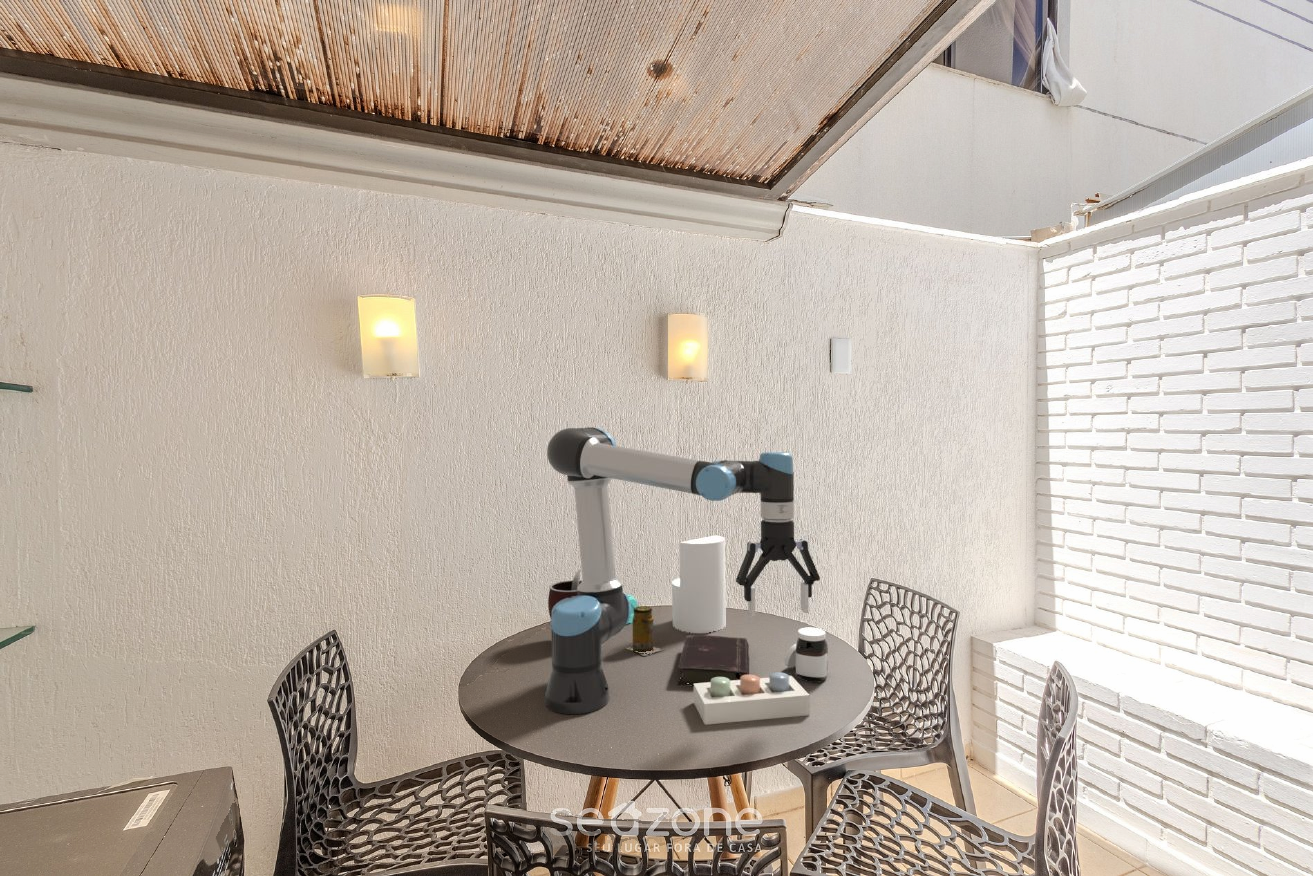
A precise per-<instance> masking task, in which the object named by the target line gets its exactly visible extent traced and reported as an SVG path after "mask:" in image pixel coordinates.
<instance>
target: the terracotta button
mask: <svg viewBox="0 0 1313 876" xmlns="http://www.w3.org/2000/svg"><path fill="white" fill-rule="evenodd" d="M760 678H761V677H759V676H757V675H754V674H749V675H746V674H744V675H743V676H741V677H740V693H741V694H742V695H750V694H760Z"/></svg>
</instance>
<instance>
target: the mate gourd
mask: <svg viewBox="0 0 1313 876" xmlns="http://www.w3.org/2000/svg"><path fill="white" fill-rule="evenodd" d="M581 573H582V569H578V570H577V572H576V573H575V575H574V577H573V579H572V580H563V581H559V582H555V583H552V584H551V585H549V592H548V598H547V600H548V601H547V605H548V606H547V607H548V614H549V618H550V619H551V616H552V609H553V607H554V606H555V605H556V604H557V603H558V602H559V601H561V600H563V599H565V598H571V597H573V596H578V592H577V587H578V586H579V585H580V583H581V582H582V580H580V579H581V578H580V576H581Z"/></svg>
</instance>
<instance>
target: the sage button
mask: <svg viewBox="0 0 1313 876" xmlns="http://www.w3.org/2000/svg"><path fill="white" fill-rule="evenodd" d="M726 696H730V680H729V679H728V678H725V677H714V678H712V679H711V697H712V698H714V697H726Z"/></svg>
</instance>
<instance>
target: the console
mask: <svg viewBox="0 0 1313 876" xmlns="http://www.w3.org/2000/svg"><path fill="white" fill-rule="evenodd" d="M788 676H789V691H786V692H774V693H772V692H771V691H770V676H769V677H759V678H760V694H750V695H742V694H741V693H740V680H738V679H736V680H732V681H730V696H726V697H714V698H712V697H711V682H707V683H694V686H693V704H694V707H695V708H696V710H697V712H698V713H699V716H700V718H701V720H702V722H703V724H704V725H714V724H715V725H716V724H726V723H736V722H747V721H748V722H749V721H760V720H770V719H772V720H773V719H780V718H781V719H782V718H793V717H804V716H805V717H806V716H810V715H811V714H810V713H811V708H810V707H811V706H810V699H811V697H810V696H811V695H810V694H809V693H808V691H806V690H805V689H804V688H803V687H802V685H801V684H800V683H799V682H798V681H797V680H796V679H795V678H794V676H792V675H788Z"/></svg>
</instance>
